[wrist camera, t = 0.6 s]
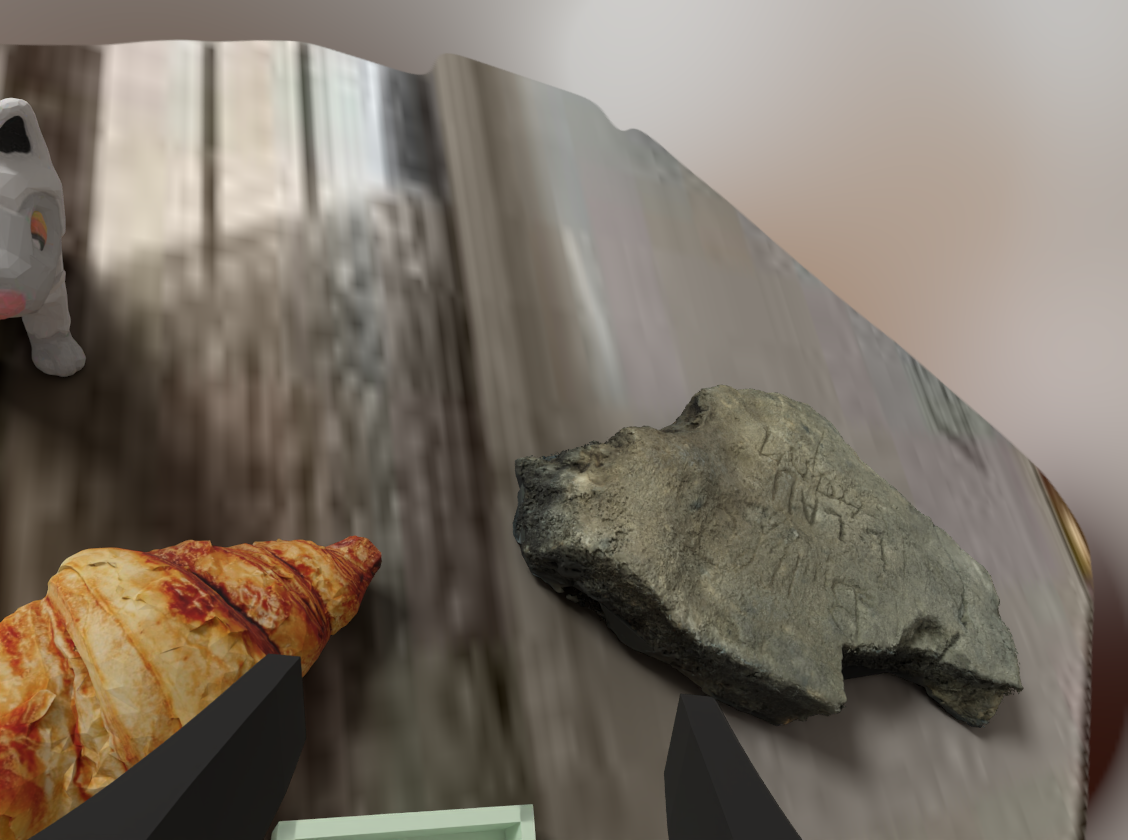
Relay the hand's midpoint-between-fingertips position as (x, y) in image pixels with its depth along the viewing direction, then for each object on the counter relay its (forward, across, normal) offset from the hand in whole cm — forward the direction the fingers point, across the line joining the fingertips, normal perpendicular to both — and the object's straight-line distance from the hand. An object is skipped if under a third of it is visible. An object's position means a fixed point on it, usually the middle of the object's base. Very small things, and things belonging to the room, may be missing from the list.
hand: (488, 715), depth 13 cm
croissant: (+11, +16, +12) cm, 22 cm away
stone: (+30, -16, +16) cm, 37 cm away
